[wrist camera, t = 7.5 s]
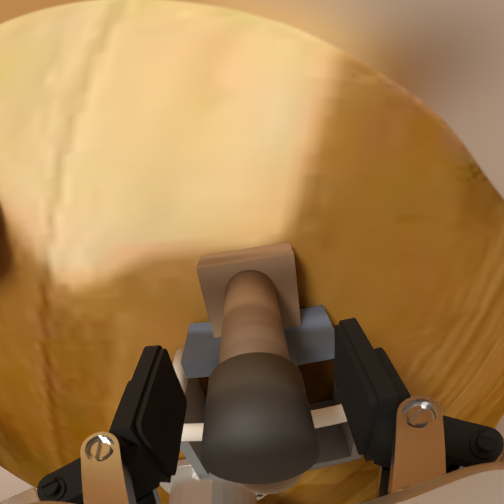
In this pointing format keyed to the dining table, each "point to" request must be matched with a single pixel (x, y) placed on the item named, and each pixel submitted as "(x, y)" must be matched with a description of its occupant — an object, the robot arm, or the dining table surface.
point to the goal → (323, 413)
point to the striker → (256, 367)
